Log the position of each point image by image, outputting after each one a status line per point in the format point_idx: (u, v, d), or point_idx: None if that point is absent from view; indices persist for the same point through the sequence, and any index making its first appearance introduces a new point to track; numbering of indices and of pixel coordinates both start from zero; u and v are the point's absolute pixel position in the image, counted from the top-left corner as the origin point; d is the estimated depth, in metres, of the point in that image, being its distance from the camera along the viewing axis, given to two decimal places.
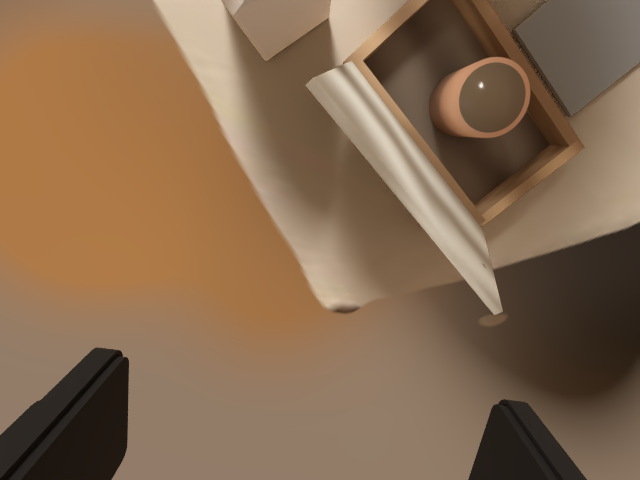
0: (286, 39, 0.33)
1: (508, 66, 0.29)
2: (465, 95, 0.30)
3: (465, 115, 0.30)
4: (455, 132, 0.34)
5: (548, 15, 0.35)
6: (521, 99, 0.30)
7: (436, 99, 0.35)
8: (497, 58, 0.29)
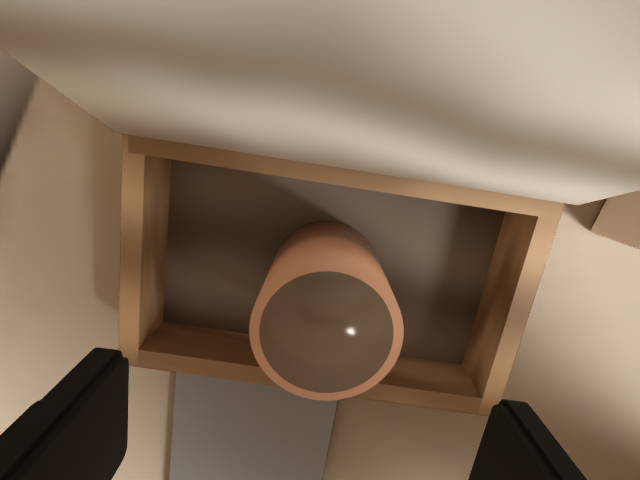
0: None
1: (344, 388, 0.15)
2: (373, 306, 0.14)
3: (344, 280, 0.14)
4: (314, 239, 0.17)
5: (315, 430, 0.24)
6: (280, 368, 0.15)
7: (375, 255, 0.19)
8: (370, 384, 0.15)
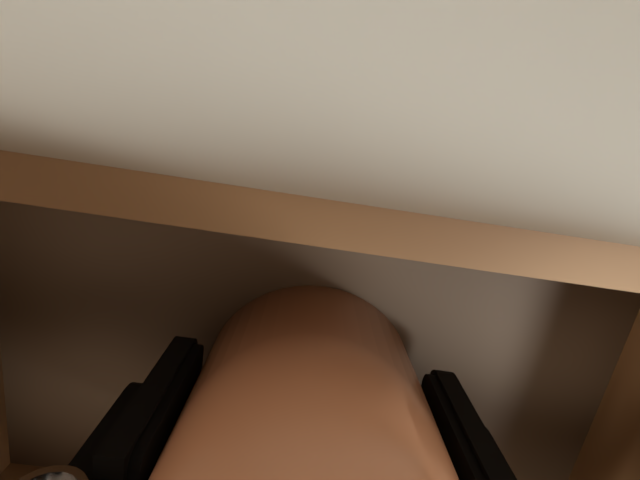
0: None
1: None
2: None
3: None
4: (274, 367, 0.07)
5: None
6: None
7: (412, 373, 0.09)
8: None
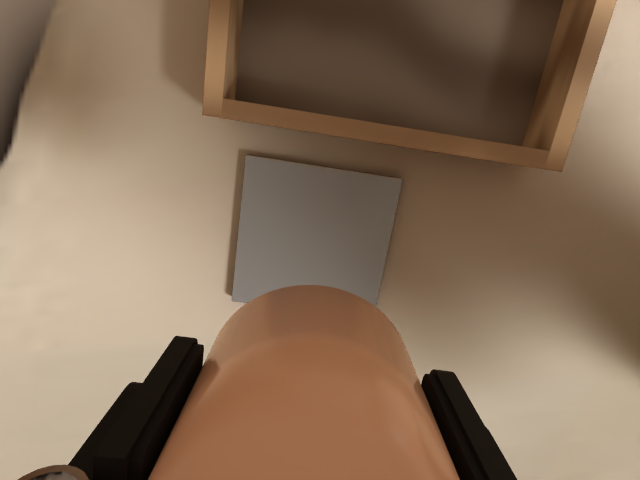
0: None
1: None
2: None
3: None
4: (275, 366, 0.07)
5: (378, 221, 0.25)
6: None
7: (413, 372, 0.09)
8: None
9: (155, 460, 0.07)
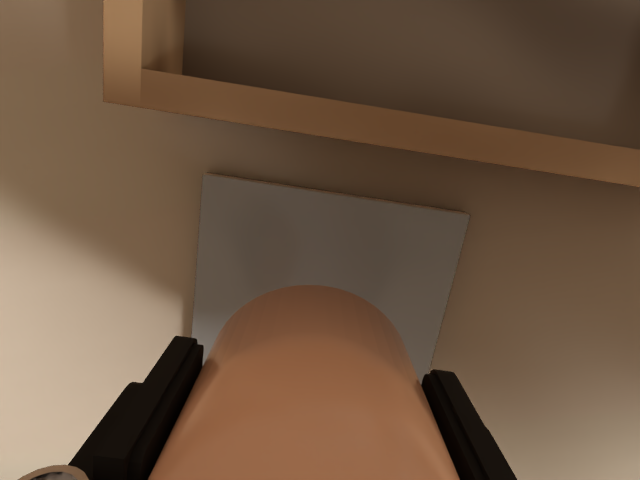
0: None
1: None
2: None
3: None
4: (274, 366, 0.07)
5: (425, 283, 0.15)
6: None
7: (413, 372, 0.09)
8: None
9: (155, 460, 0.07)
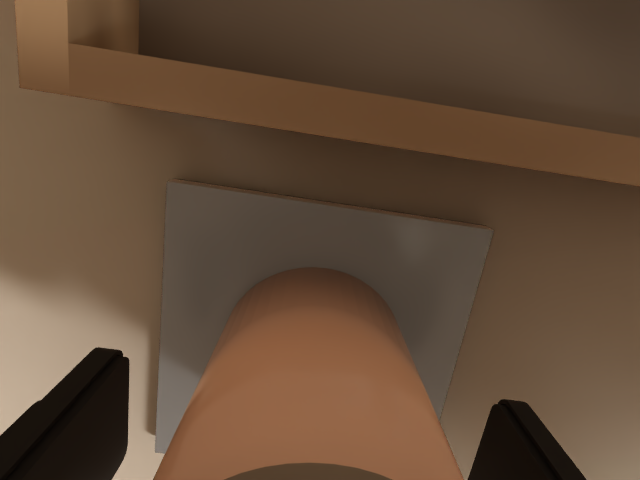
0: None
1: None
2: None
3: None
4: (285, 327, 0.08)
5: (439, 311, 0.13)
6: None
7: (402, 339, 0.10)
8: None
9: None
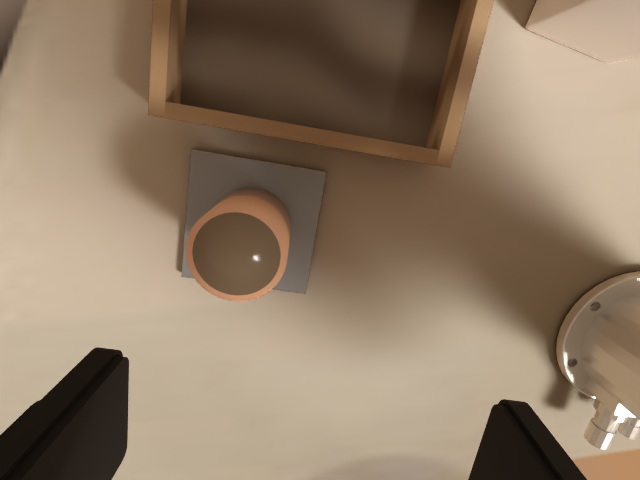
0: None
1: (250, 292, 0.23)
2: (266, 235, 0.22)
3: (247, 218, 0.22)
4: (235, 196, 0.25)
5: (306, 208, 0.29)
6: (207, 278, 0.23)
7: (282, 211, 0.27)
8: (267, 290, 0.23)
9: None
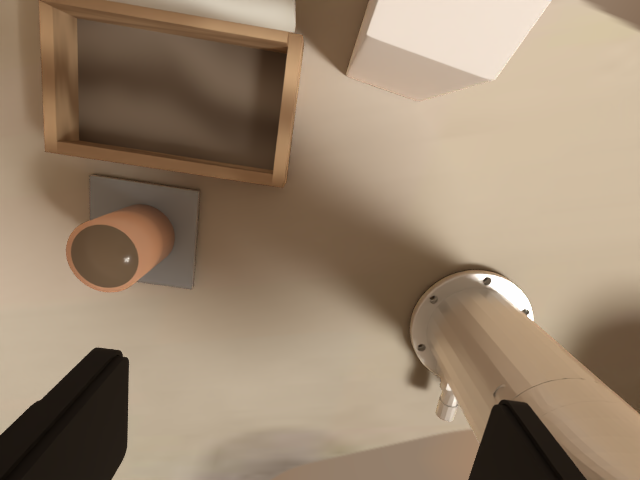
0: (366, 12, 0.30)
1: (117, 285, 0.31)
2: (125, 242, 0.30)
3: (110, 229, 0.29)
4: (114, 212, 0.32)
5: (185, 220, 0.37)
6: (83, 274, 0.30)
7: (158, 223, 0.34)
8: (131, 283, 0.31)
9: None
